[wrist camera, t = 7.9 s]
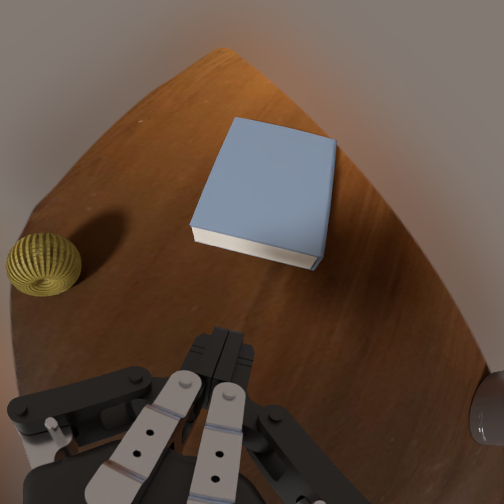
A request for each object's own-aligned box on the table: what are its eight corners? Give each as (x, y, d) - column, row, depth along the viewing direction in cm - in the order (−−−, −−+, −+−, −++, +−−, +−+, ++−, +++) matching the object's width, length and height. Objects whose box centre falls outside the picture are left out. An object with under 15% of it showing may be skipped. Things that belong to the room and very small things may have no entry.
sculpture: (91, 251, 28) (55, 212, 20) (97, 287, 26) (57, 254, 19) (34, 274, 26) (-9, 243, 19) (37, 308, 25) (-10, 283, 17)
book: (194, 241, 29) (234, 137, 35) (313, 271, 28) (329, 159, 35) (189, 224, 26) (235, 117, 32) (323, 257, 25) (336, 140, 31)
